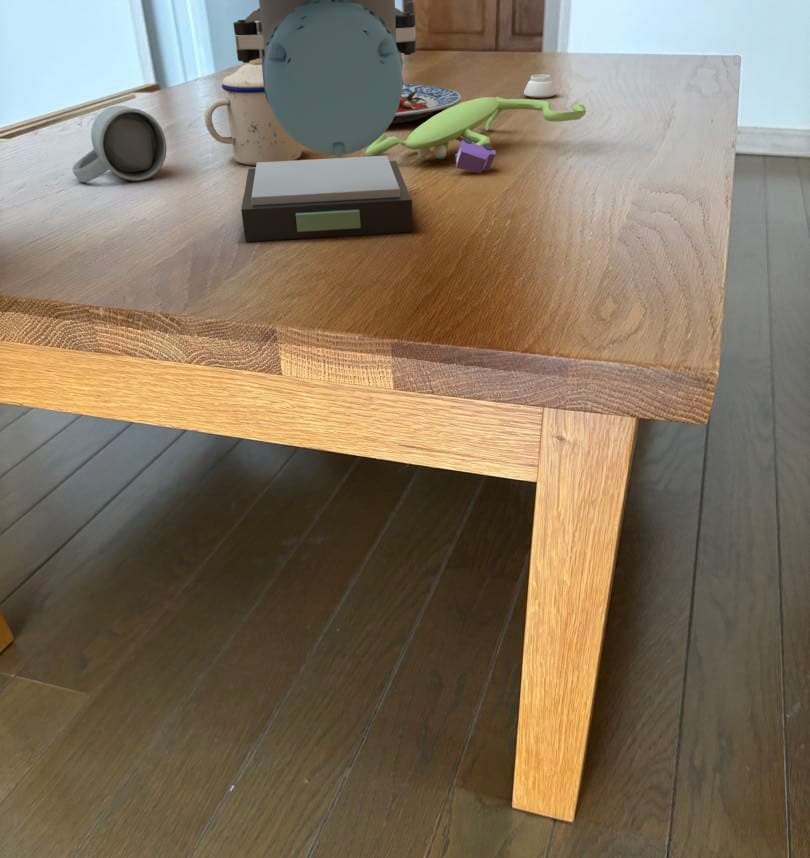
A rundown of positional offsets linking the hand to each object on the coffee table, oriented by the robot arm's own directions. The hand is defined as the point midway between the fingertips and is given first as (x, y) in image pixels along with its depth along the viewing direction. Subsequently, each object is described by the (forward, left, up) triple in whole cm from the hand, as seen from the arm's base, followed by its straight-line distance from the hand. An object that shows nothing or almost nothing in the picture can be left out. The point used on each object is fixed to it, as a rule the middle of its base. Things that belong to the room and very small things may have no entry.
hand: (322, 15), depth 78 cm
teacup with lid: (-9, +29, -18) cm, 36 cm away
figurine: (+19, +27, -18) cm, 38 cm away
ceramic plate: (+8, +55, -18) cm, 59 cm away
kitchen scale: (-1, +3, -18) cm, 18 cm away
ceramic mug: (-25, +24, -18) cm, 39 cm away
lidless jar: (+35, +63, -18) cm, 75 cm away
